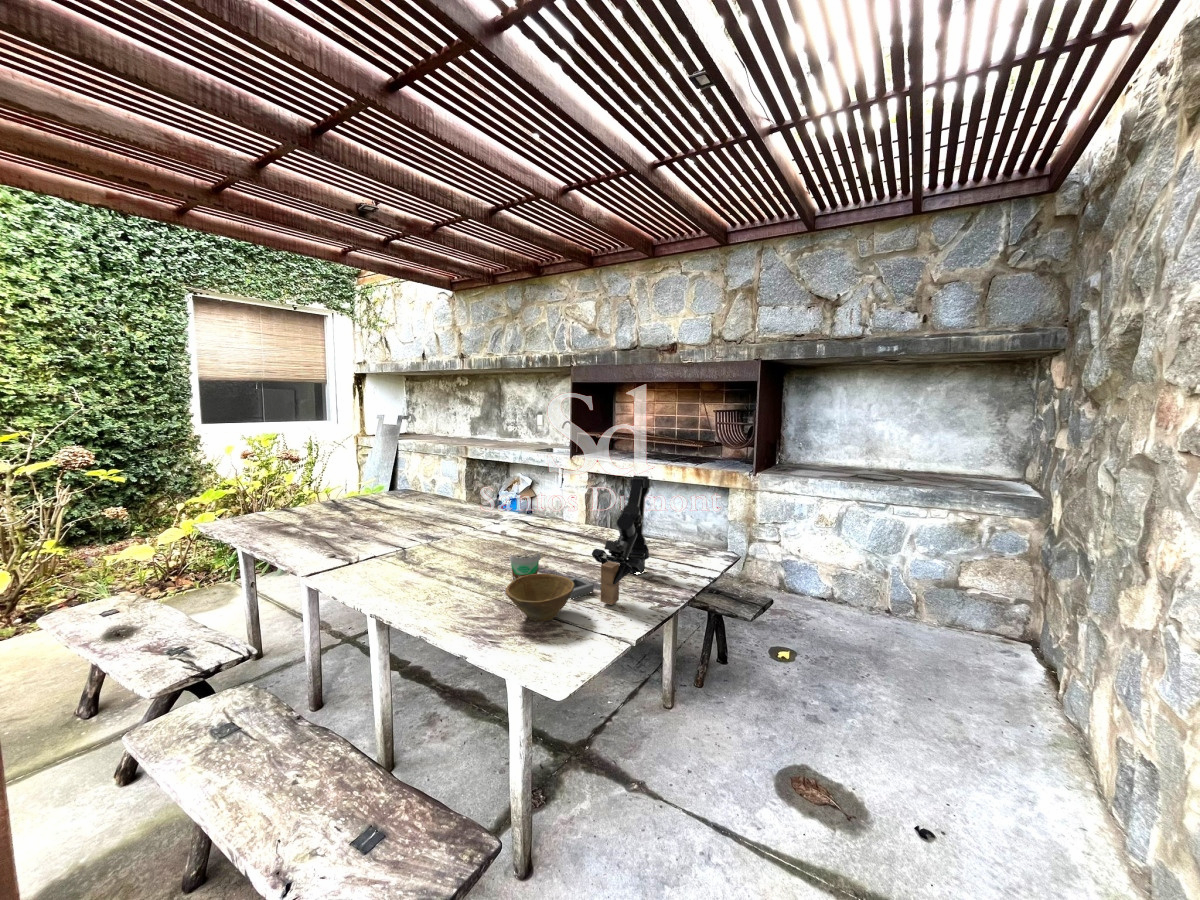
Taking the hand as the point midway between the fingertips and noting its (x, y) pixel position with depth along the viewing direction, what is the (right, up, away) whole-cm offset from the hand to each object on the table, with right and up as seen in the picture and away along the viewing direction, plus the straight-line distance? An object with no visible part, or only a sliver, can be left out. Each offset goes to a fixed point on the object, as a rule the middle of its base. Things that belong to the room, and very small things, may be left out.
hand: (607, 582), depth 168 cm
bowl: (-22, -9, -7) cm, 25 cm away
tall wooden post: (+1, -7, +2) cm, 7 cm away
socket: (-12, -7, +12) cm, 18 cm away
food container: (-31, -6, +22) cm, 39 cm away
